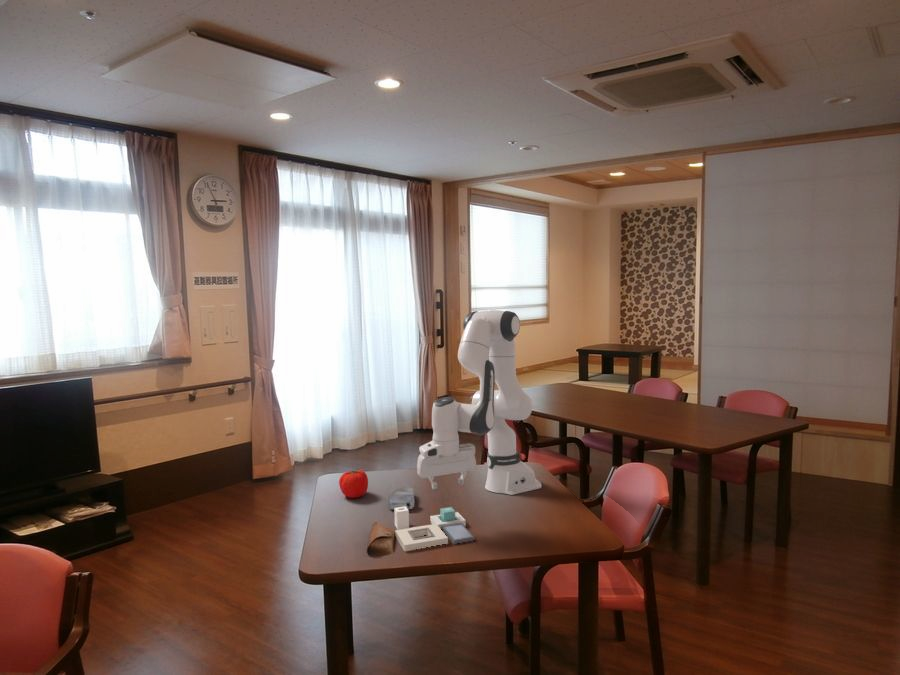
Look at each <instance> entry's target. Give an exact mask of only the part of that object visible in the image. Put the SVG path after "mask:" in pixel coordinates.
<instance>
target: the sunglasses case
mask: <svg viewBox="0 0 900 675" xmlns="http://www.w3.org/2000/svg"><path fill="white" fill-rule="evenodd" d="M395 530H396V529H394V528H391V527H389V526H385V525H383V524H380V523H379V522H377V521H376V522H374V523H373V524H372V527H371V530H370V534H369V538H368V541H367V547H366V553H367V555H368V556H375V555H376V556H377V555H391V554H392V555H393V554H394V552H395V549H394V547H395V540H396V539H395V538H396V537H395Z"/></svg>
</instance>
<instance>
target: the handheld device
mask: <svg viewBox="0 0 900 675" xmlns="http://www.w3.org/2000/svg"><path fill="white" fill-rule="evenodd" d="M404 506H406V507H407V509H408V510H412V509H413V507H414V508H415V491H414V489H413V488H412V487H410V486H398V487H397V488H396V489H394V490H393V491H392V494H390V495H389V496H388V508H389V510H394V508H398V507H404Z"/></svg>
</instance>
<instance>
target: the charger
mask: <svg viewBox="0 0 900 675" xmlns="http://www.w3.org/2000/svg"><path fill="white" fill-rule="evenodd" d="M409 510H410V509H407V507H406V506H404V507H398V508H394V509H393V512H394V526H395V527H396V530H400V529H406V528H410V513H409V512H410V511H409Z"/></svg>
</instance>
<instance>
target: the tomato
mask: <svg viewBox="0 0 900 675" xmlns="http://www.w3.org/2000/svg"><path fill="white" fill-rule="evenodd" d="M359 469H360V467H358V468H357V469H356V470H355V469H354V470H350V471H346V472H343V473H342V474H341V475H340V477H339V481H338V484H339V485H338V486H339V488H340V491H341V493H342V494H343V495H344V496H345V497H347V498H349V499H350V498H351V499H356V498H360V497H363V496H365V495H366V493H367V491H368V488H369V479H368V475H367V474H366V472H365V471H364V470H361V469H360V470H359Z"/></svg>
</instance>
